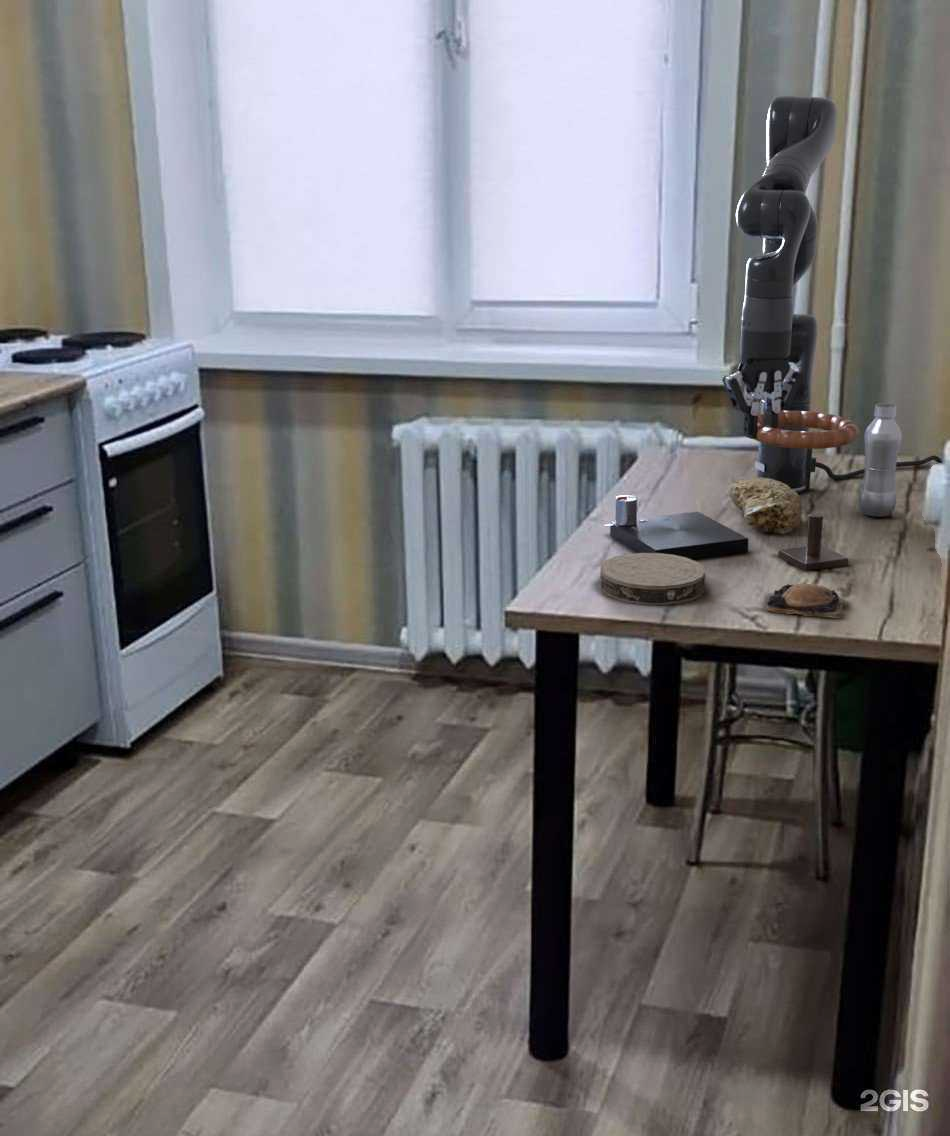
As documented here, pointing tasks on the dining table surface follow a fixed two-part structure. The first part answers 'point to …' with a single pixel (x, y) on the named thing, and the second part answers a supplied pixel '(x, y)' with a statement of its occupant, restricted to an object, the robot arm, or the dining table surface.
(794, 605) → the bread roll
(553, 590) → the dining table surface
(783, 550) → the peg
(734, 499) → the sponge
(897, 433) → the plastic bottle
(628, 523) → the hob knob
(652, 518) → the hob
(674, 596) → the tan disc
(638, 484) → the dining table surface
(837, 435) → the brown segmented ring
